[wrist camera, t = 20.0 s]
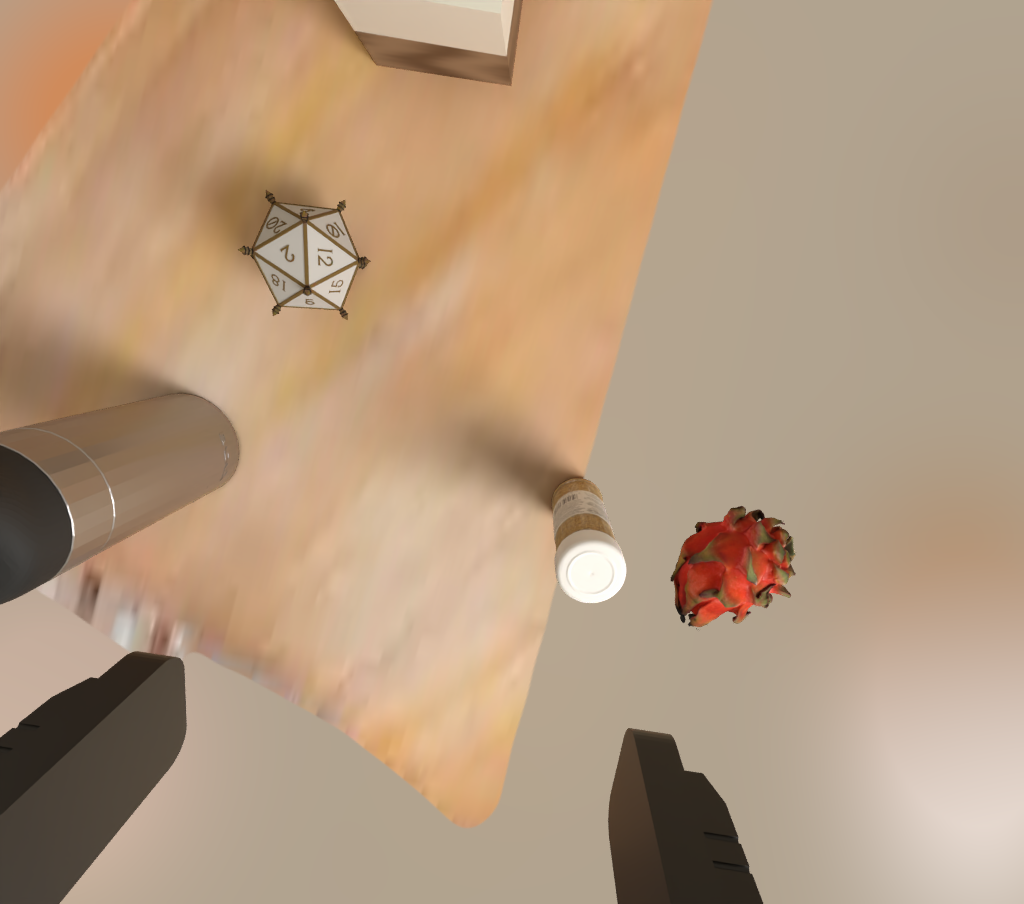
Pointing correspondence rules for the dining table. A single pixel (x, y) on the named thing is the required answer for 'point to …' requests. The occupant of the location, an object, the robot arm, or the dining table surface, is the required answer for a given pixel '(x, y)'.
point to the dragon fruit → (732, 567)
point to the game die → (306, 256)
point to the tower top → (436, 21)
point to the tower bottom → (445, 56)
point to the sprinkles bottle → (585, 543)
